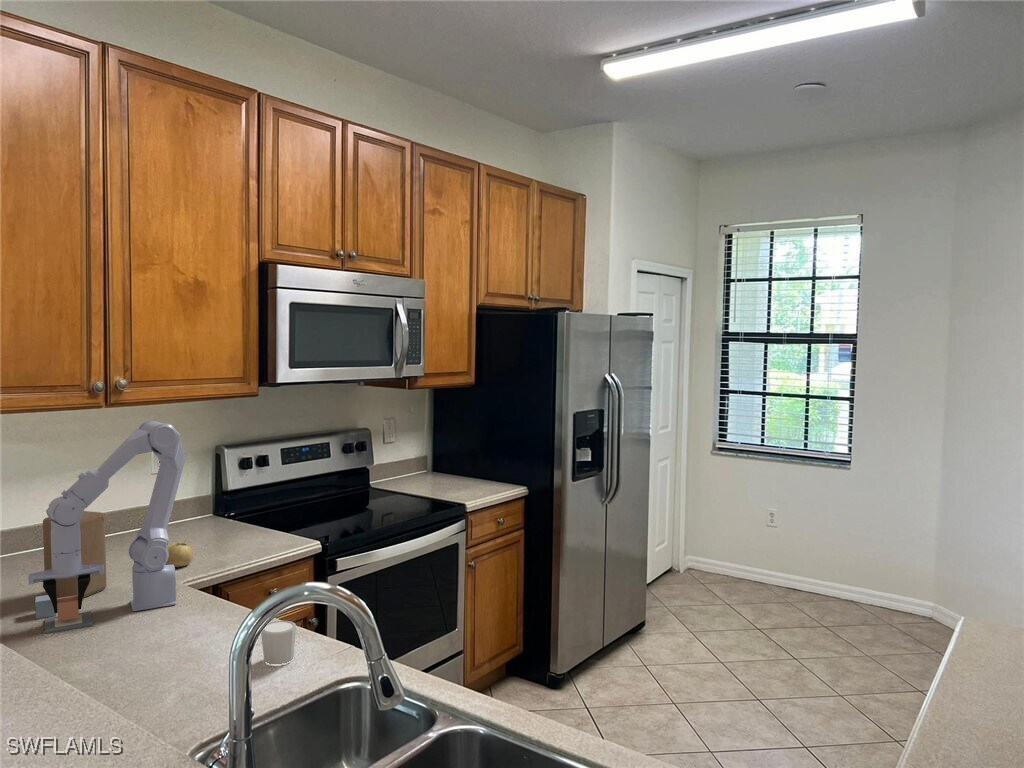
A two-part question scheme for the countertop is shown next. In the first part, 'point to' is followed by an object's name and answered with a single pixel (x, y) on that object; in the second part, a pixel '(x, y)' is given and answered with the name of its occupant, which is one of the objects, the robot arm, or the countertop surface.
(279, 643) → the white tapered cup
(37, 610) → the blue brick
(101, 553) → the wooden block
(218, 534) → the countertop surface
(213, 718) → the countertop surface
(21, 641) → the countertop surface
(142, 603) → the robot arm
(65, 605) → the terracotta brick
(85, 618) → the mat
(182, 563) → the onion
